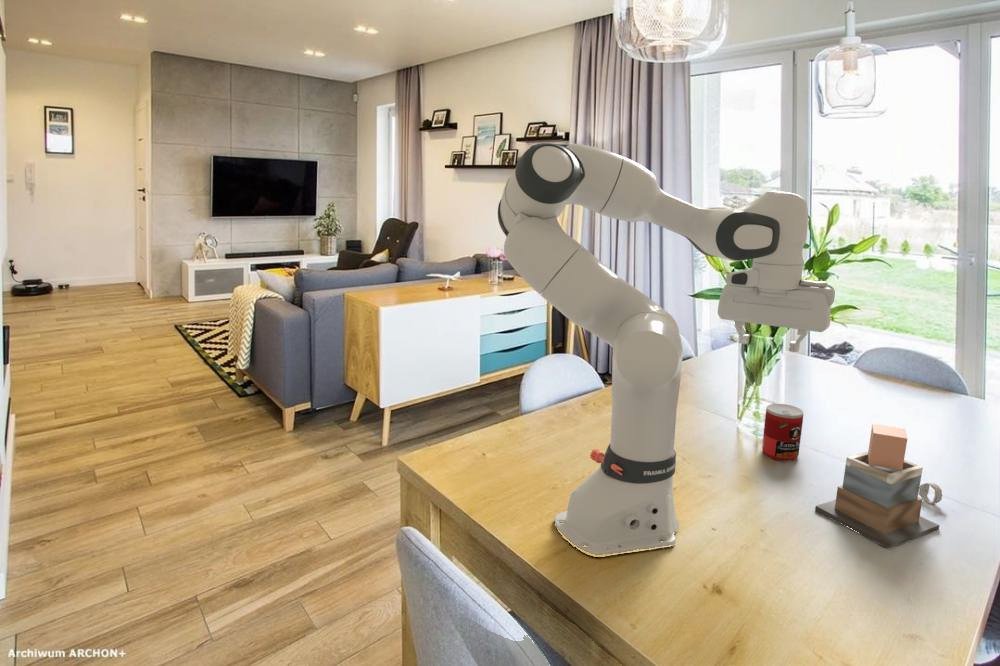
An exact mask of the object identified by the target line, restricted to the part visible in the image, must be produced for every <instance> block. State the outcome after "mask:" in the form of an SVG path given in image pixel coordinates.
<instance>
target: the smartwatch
mask: <svg viewBox="0 0 1000 666" xmlns="http://www.w3.org/2000/svg"><path fill="white" fill-rule="evenodd" d="M930 487H931V488H932V489H933V490H934V497H933V500H931V499H929V497H928V495H929V491H930ZM918 496H920V498H921V499H923V500H922V501H924V502H925V503H927V504H929V505H935V504H937V503H940V502H941V501H942V498H943V490H942V489H941V487H940V485H938V484H936V483H935V482H925V483H923V484H920V487H919V493H918Z"/></svg>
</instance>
